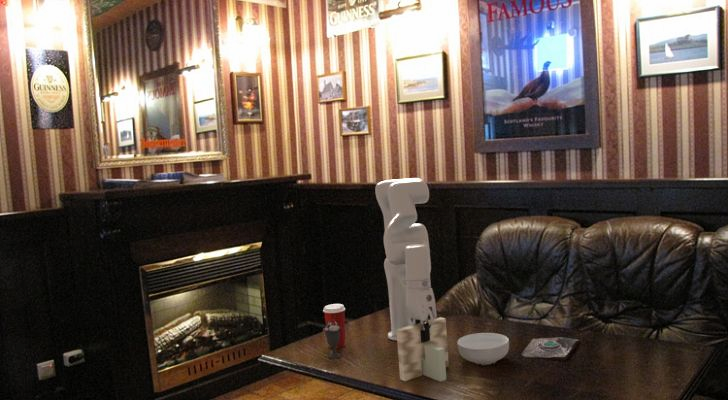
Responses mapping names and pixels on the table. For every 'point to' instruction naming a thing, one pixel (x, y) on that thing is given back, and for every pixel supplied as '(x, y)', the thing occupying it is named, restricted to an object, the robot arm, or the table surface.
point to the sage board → (434, 362)
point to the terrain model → (550, 348)
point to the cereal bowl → (483, 347)
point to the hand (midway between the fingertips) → (422, 339)
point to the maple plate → (418, 347)
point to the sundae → (333, 337)
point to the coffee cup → (336, 319)
